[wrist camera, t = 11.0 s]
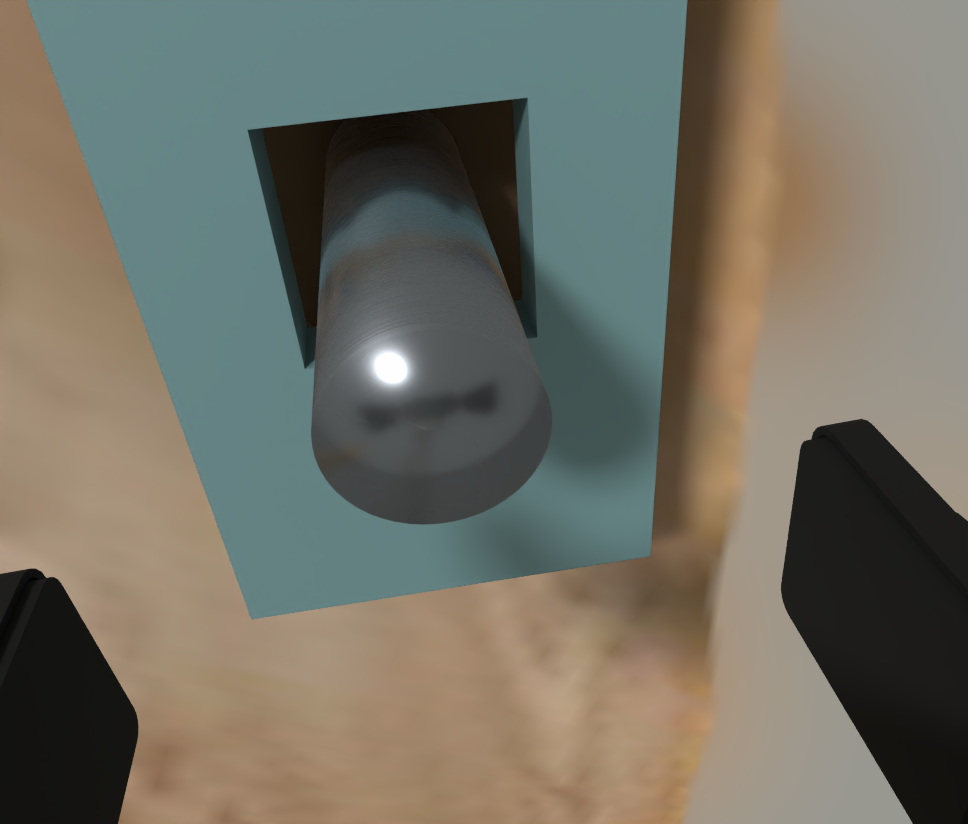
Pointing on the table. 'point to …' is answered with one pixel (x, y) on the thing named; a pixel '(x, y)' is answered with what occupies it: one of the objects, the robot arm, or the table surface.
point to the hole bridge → (272, 280)
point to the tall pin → (417, 334)
